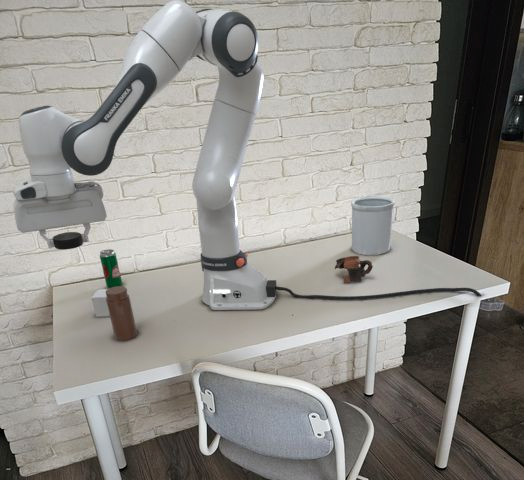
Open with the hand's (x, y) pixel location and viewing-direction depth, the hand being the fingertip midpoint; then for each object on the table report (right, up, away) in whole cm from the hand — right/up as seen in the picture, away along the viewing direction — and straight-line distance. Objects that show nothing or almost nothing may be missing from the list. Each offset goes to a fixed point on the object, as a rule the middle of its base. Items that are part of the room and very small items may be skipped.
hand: (68, 244), depth 117 cm
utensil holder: (+87, +11, +60) cm, 106 cm away
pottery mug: (+76, -3, +36) cm, 85 cm away
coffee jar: (+11, -22, +10) cm, 27 cm away
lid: (0, +1, -1) cm, 2 cm away
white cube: (+2, -15, +24) cm, 28 cm away
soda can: (-1, -5, +41) cm, 42 cm away
